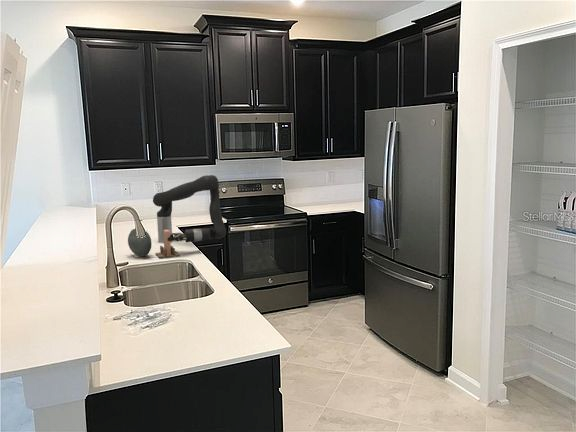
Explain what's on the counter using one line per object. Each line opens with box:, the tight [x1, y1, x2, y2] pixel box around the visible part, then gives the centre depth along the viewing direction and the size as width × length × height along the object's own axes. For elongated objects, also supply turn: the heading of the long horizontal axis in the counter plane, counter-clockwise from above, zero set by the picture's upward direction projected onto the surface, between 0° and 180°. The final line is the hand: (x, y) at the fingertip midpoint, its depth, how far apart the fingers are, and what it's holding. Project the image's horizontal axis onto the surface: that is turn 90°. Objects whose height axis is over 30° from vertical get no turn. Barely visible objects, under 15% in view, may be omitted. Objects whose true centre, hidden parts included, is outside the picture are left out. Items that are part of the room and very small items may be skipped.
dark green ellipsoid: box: [127, 219, 152, 258], centre depth 283 cm, size 12×17×22 cm
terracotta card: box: [163, 230, 172, 255], centre depth 285 cm, size 6×2×14 cm, turn 27°
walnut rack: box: [154, 245, 181, 260], centre depth 286 cm, size 12×12×5 cm
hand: (166, 238), depth 285 cm, fingers open, 8 cm apart
